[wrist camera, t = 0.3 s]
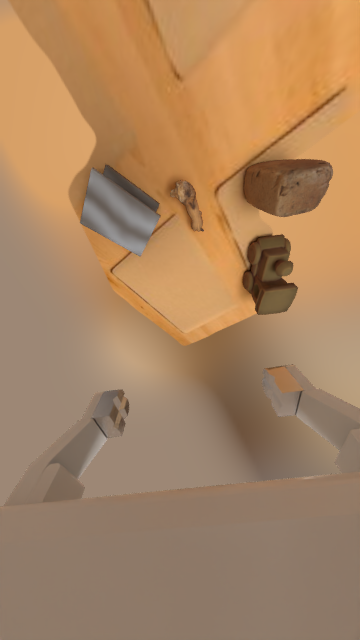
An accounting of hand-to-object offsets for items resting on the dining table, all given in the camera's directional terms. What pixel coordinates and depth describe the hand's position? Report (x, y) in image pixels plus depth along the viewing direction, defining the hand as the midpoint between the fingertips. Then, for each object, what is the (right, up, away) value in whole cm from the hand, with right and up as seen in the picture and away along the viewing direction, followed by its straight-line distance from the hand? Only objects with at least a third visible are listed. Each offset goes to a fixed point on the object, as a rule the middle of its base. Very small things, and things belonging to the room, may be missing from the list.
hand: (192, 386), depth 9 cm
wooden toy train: (+28, +25, +50) cm, 62 cm away
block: (+21, +40, +33) cm, 56 cm away
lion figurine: (+2, +36, +36) cm, 51 cm away
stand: (-16, +34, +36) cm, 52 cm away
